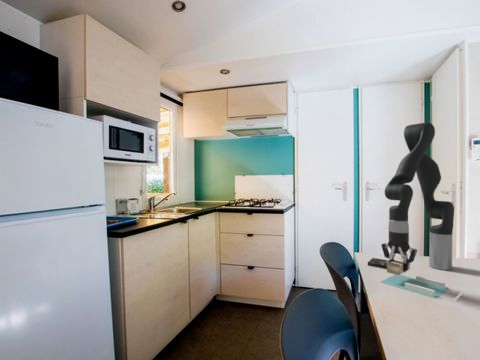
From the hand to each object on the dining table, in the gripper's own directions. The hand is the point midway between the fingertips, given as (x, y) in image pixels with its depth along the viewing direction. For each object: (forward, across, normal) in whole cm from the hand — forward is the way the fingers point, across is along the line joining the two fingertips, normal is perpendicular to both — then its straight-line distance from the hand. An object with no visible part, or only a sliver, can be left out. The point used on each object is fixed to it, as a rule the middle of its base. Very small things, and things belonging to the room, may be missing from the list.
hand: (398, 269), depth 117 cm
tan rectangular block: (0, 0, 0) cm, 0 cm away
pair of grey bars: (+5, -10, 0) cm, 11 cm away
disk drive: (+6, +12, -16) cm, 21 cm away
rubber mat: (+5, -6, 0) cm, 8 cm away
